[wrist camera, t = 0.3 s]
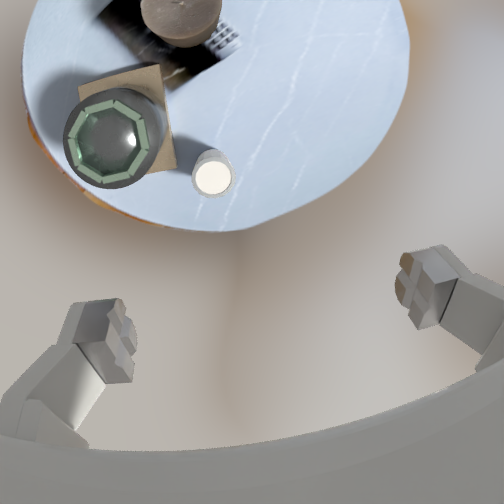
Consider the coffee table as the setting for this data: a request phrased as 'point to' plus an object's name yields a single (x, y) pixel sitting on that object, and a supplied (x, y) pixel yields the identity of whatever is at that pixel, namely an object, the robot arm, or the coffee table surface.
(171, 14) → the pillar candle
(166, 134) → the green-rimmed dark canister
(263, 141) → the coffee table surface
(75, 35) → the coffee table surface
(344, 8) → the coffee table surface
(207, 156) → the white cylinder
